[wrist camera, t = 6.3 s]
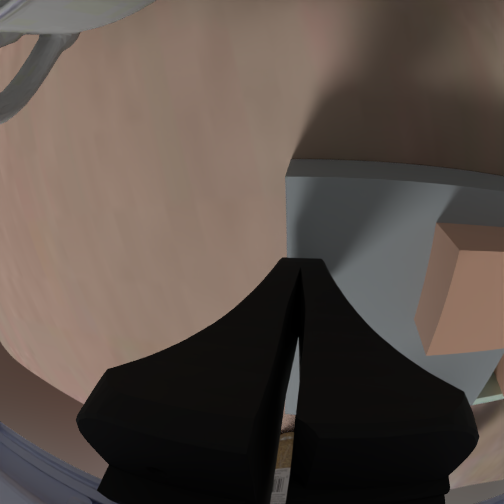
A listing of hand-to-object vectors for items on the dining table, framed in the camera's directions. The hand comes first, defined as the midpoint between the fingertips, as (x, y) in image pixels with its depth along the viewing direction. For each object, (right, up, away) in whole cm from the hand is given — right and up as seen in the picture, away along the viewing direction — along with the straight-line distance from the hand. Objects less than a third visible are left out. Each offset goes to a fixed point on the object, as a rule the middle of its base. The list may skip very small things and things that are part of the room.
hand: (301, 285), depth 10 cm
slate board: (+6, -1, +4) cm, 7 cm away
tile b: (+7, 0, 0) cm, 7 cm away
